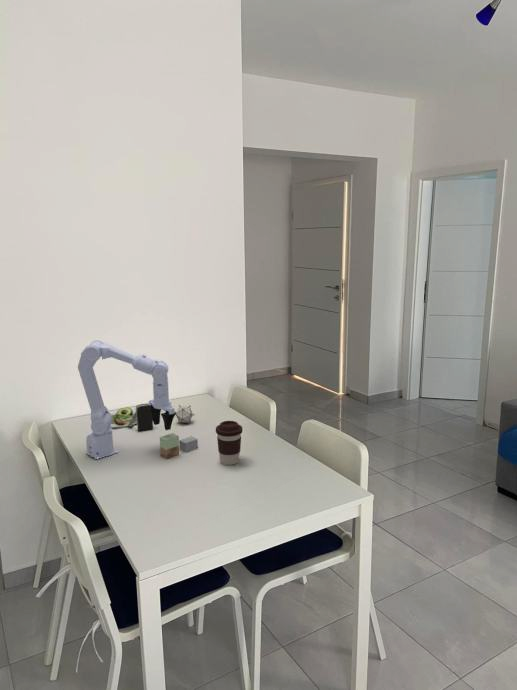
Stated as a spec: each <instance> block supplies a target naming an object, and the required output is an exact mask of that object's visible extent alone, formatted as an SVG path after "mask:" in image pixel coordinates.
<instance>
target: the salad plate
mask: <svg viewBox="0 0 517 690" xmlns="http://www.w3.org/2000/svg"><path fill="white" fill-rule="evenodd" d="M110 414H111V415H112V417H113V421H112V423H111V424H110V426H111V428H112V429H123V428H130V427H132V426H133V427H134V426H135V425H137V417H136V411H135V412H134V411H133V409H132V408H131V407H127V406H126V407H122V408H120V409H117V412H116V413H110ZM112 424H116V425H112Z"/></svg>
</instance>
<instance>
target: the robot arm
mask: <svg viewBox="0 0 517 690" xmlns="http://www.w3.org/2000/svg"><path fill="white" fill-rule="evenodd" d="M109 358H112V359H116V360H119V361H121V362H123V363H126V364H127V363H128V364H130V365H132V368H133V369H135V370H137V371H139V372H142V373H144V374H147V375H151V377H152V381H153V382H152V391H153V392H152V394H153V399H150V400H148V404H149V405H150V407H149V408H148V411H149V412H150V414H151V416H152V419H153V426H157V425H160V422H161V417H162V419H163V420H162V421H163V424H164V425H163V426H164V430H165V431H169V430H171V428H172V425H173V421H174V418H175V417H176V412H177V411H175V407H173V406H172V403H171V402H170V401H169V400H170V395H169V393H170V391H169V377H168V372H169V366H168V364H167V363H166V362H164V361H163V360H159V361H158V359H155V360H154V359H152V358H150V357H147V354H144V353H143V354H138V355H134V354H131V353H130V352H127V351H125V350H122V349H121V348H118V347H117V346H113V345H111V344H110V343H108V342H104V341H102V340H100V339H99V340H94V341H93V340H92V342H90V344H89V345H87V346H86V347H85V348H84V349H83V350H82V351H81V353H80V358H79V362H78V363H77V364H78V365H77V371H78V373H79V376H80V379H81V383H82V385H83V388H84V389H83V390H84V392H85V396H86V400H87V403H88V405H89V408H90V420H91V424H90V428H91V432H92V433H90V434H89V435H87V436H86V441H85V442H86V451H87V452H86V455H88V456H89V455H90V456H89V457H91V458H92V457H94V458H96V459H97V458H98V457H99V458H100V459H102V458H101V457H103V458H106V457H109V456H112V455H115V454H118V453H119V451H118V450H116V449H114V438H113V428H111V426H112V424H111V423H112V421H113V417H112V415H111V414H112V413H110V412H109V409H108V407H107V406H105V403H104V400H103V397H102V394H101V390H100V387H99V383H98V381H97V377H96V374H95V371H94V366H95V364H96V363H97V362H98V361H99V360H100V359H101V360H106V359H109ZM162 411H163V413H162ZM105 456H106V457H105ZM94 458H93V459H94ZM96 459H95V460H96ZM97 460H98V459H97Z"/></svg>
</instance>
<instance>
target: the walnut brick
mask: <svg viewBox="0 0 517 690" xmlns="http://www.w3.org/2000/svg"><path fill="white" fill-rule="evenodd" d="M159 452H160V457H161V458H163V459H165V460H169V459H171V458H175V457H177V456H180V448H179V446H176V447H173V448H170V449H167V450H165V449H163V448H161V447H160V446H159ZM174 456H175V457H174Z"/></svg>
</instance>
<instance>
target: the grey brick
mask: <svg viewBox="0 0 517 690" xmlns="http://www.w3.org/2000/svg"><path fill="white" fill-rule="evenodd" d="M196 448H197V449H198V448H199V445H198V438H196V437H194V436H192V435H191V436H189V437H185V438H182V439H179V451H182V452H184V453H188V452H190V450H191V451H193V449H194V450H196Z"/></svg>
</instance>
